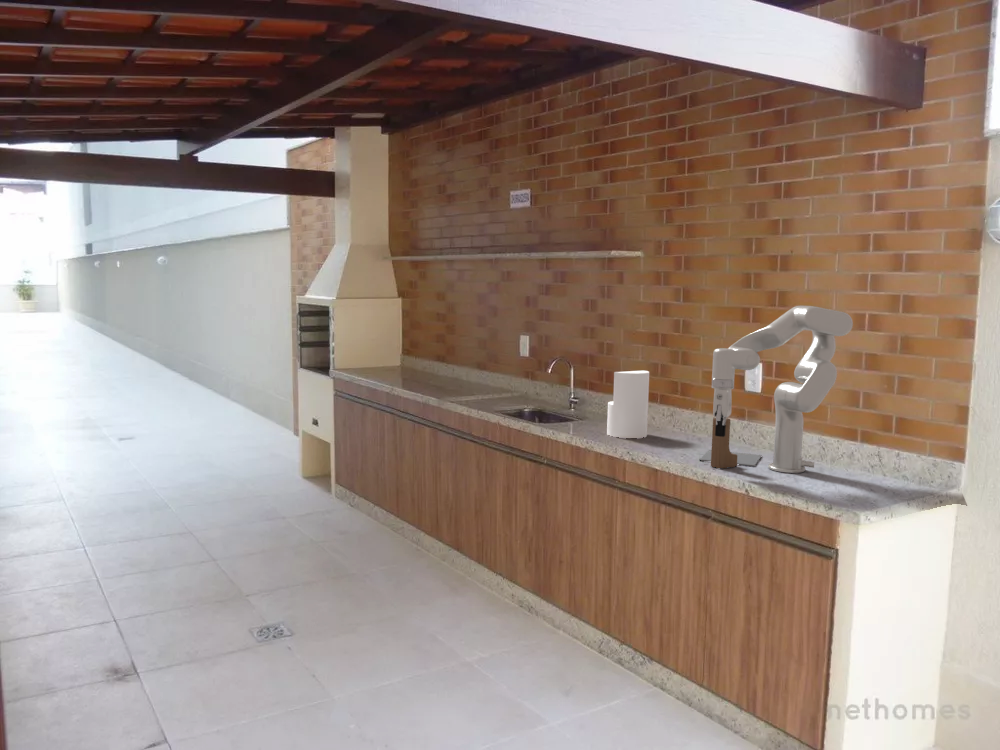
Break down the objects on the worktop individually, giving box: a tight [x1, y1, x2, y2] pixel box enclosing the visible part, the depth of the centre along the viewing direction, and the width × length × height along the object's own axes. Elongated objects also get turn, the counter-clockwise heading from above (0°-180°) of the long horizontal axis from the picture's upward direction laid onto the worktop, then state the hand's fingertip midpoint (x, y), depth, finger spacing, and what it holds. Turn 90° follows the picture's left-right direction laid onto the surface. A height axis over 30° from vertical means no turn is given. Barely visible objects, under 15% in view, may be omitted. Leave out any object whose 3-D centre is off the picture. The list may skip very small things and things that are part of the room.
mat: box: [698, 449, 763, 468], centre depth 312 cm, size 20×20×1 cm
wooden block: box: [710, 417, 738, 469], centre depth 297 cm, size 9×4×18 cm, turn 120°
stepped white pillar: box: [606, 370, 650, 439], centre depth 356 cm, size 17×17×28 cm
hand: (720, 435), depth 287 cm, fingers closed
